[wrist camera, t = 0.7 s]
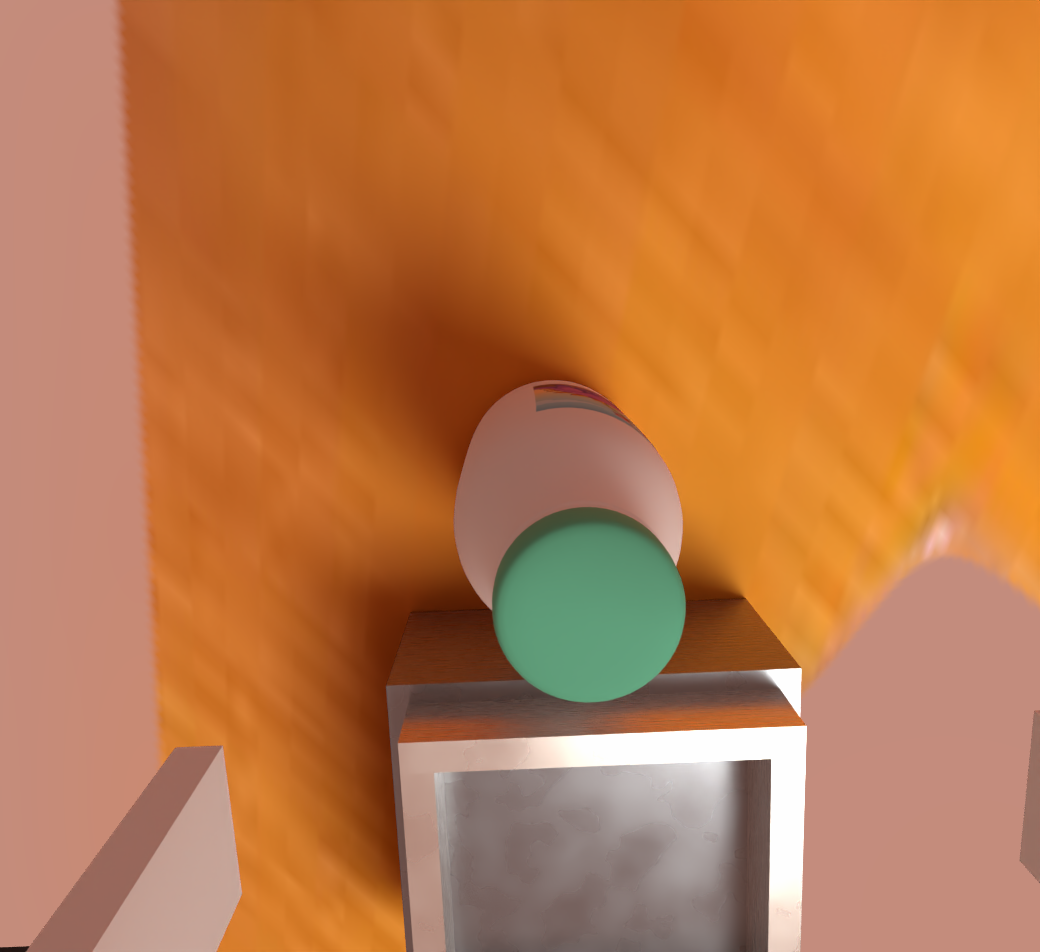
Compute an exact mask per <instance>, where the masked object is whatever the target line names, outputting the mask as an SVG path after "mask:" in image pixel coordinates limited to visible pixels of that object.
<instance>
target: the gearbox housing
mask: <svg viewBox="0 0 1040 952" xmlns="http://www.w3.org/2000/svg"><path fill="white" fill-rule="evenodd" d="M386 693H387V706H388V719H389V732H390V745H391V758H392V771H393V784H394V797H395V809H396V822H397V835H398V848H399V861H400V874H401V887H402V900H403V913H404V926H405V939H406V952H800V942H801V940H800V939H801V906H802V867H803V831H804V829H803V828H804V793H805V791H804V790H805V756H806V725H805V724H804V722H803V721H802V719H801V718H800V699H801V667H800V666H799V665H798V664H797V662H796V661H795V660H794V659H793V657H792V656H791V655H790V654H789V652H788V651H787V650H786V649H785V647H784V646H783V645H782V644H781V642H780V641H779V640H778V639H777V637H776V636H775V635H774V633H773V632H772V631H771V630H770V628H769V627H768V626H767V625H766V623H765V622H764V621H763V620H762V618H761V617H760V616H759V615H758V613H757V612H756V611H755V610H754V608H753V607H752V606H751V605H750V603H749V602H748V601H747V600H746V598H744V599H720V600H696V601H686V614H685V622H684V627H683V631H682V635H681V638H680V641H679V644H678V646H677V648H676V650H675V652H674V654H673V656H672V657H671V659H670V660H669V662H668V663H667V664H666V666H665V667H664V668H663V669H662V670H661V672H660V673H659V674H658V675H657V676H655V677H654V678H653V679H652V680H651V681H650V682H648V683H647V684H646V685H644V686H643V687H641V688H639V689H638V690H636V691H634V692H632V693H630V694H628V695H625V696H623V697H620V698H616V699H613V700H608V701H603V702H590V703H584V702H574V701H568V700H564V699H560V698H557V697H554V696H551V695H549V694H547V693H545V692H543V691H541V690H539V689H538V688H536V687H534V686H533V685H532V684H530V683H529V682H528V681H526V680H525V679H524V678H523V677H522V676H521V675H520V674H519V673H518V672H517V671H516V670H515V669H514V667H513V666H512V665H511V663H510V662H509V661H508V659H507V658H506V656H505V655H504V653H503V651H502V649H501V647H500V645H499V642H498V640H497V637H496V633H495V629H494V624H493V616H492V610H491V609H482V610H458V611H434V612H411V613H410V616H409V619H408V622H407V624H406V627H405V630H404V633H403V636H402V639H401V642H400V645H399V648H398V651H397V654H396V657H395V660H394V663H393V666H392V669H391V672H390V675H389V678H388V681H387V684H386Z"/></svg>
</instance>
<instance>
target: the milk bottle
mask: <svg viewBox="0 0 1040 952" xmlns="http://www.w3.org/2000/svg"><path fill="white" fill-rule="evenodd" d="M682 532H683V520H682V510H681V505H680V500H679V496H678V492H677V489H676V486H675V483H674V480H673V478H672V475H671V473H670V471H669V469H668V468H667V466H666V464H665V462H664V461H663V459H662V458H661V456H660V455H659V454H658V452H657V451H656V449H655V448H654V446H653V445H652V444H651V442H650V441H649V440H648V439H647V438H646V437H645V435H644V434H643V433H642V432H641V431H640V430H639V429H638V428H637V427H636V426H635V425H634V424H633V423H632V422H631V421H630V420H629V419H628V418H627V417H626V416H625V415H624V414H623V413H622V412H621V411H620V410H619V409H618V408H617V407H616V406H615V405H614V404H613V403H612V402H610V401H609V400H608V399H607V398H605V397H604V396H602V395H601V394H599V393H598V392H596V391H594V390H592V389H590V388H588V387H586V386H583V385H581V384H577V383H574V382H569V381H561V380H545V381H538V382H533V383H529V384H526V385H523V386H521V387H519V388H516V389H514V390H513V391H511V392H509V393H507V394H506V395H504V396H503V397H502V398H500V399H499V400H498V401H497V402H496V403H495V404H494V405H493V406H492V407H491V408H490V409H489V410H488V411H487V412H486V414H485V415H484V416H483V418H482V420H481V421H480V423H479V424H478V426H477V428H476V430H475V432H474V434H473V437H472V440H471V442H470V445H469V448H468V452H467V455H466V458H465V461H464V465H463V469H462V472H461V476H460V480H459V484H458V488H457V494H456V501H455V509H454V534H455V541H456V546H457V550H458V554H459V558H460V561H461V564H462V567H463V570H464V572H465V574H466V576H467V578H468V580H469V582H470V583H471V585H472V587H473V588H474V590H475V591H476V593H477V594H478V595H479V597H480V598H481V600H482V601H483V602H484V603H485V604H486V605H487V606H488V607H489V609H491V610H492V616H493V624H494V629H495V633H496V637H497V640H498V642H499V645H500V647H501V649H502V651H503V653H504V655H505V656H506V658H507V659H508V661H509V662H510V663H511V665H512V666H513V667H514V669H515V670H516V671H517V672H518V673H519V674H520V675H521V676H522V677H523V678H524V679H525V680H526V681H528V682H529V683H530V684H532V685H533V686H534V687H536V688H538V689H539V690H541V691H543V692H545V693H547V694H549V695H551V696H554V697H557V698H560V699H564V700H568V701H574V702H584V703H590V702H603V701H608V700H613V699H616V698H620V697H623V696H625V695H628V694H630V693H632V692H634V691H636V690H638V689H639V688H641V687H643V686H644V685H646V684H647V683H648V682H650V681H651V680H652V679H653V678H654V677H655V676H657V675H658V674H659V673H660V672H661V670H662V669H663V668H664V667H665V666H666V664H667V663H668V662H669V660H670V659H671V657H672V656H673V654H674V652H675V650H676V648H677V646H678V644H679V641H680V638H681V635H682V631H683V627H684V622H685V614H686V600H685V592H684V587H683V583H682V580H681V577H680V575H679V572H678V570H677V567H676V565H677V562H678V559H679V554H680V550H681V542H682Z"/></svg>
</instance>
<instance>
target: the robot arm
mask: <svg viewBox="0 0 1040 952" xmlns="http://www.w3.org/2000/svg"><path fill="white" fill-rule="evenodd" d="M1020 861H1021V863H1022V864H1023V865H1024V866H1025V867H1026V868H1027V869H1028V870H1029V872H1030V873H1031V874H1032V875H1033V876H1034V877H1035V878H1036V879H1037V881H1038V882H1039V883H1040V711H1034V718H1033V728H1032V739H1031V749H1030V759H1029V769H1028V780H1027V790H1026V801H1025V812H1024V821H1023V831H1022V842H1021V852H1020ZM241 895H242V890H241V882H240V874H239V867H238V859H237V851H236V844H235V836H234V828H233V821H232V813H231V805H230V797H229V790H228V782H227V774H226V767H225V759H224V751H223V746H202V747H178V748H175V749H174V750H173V752H172V753H171V754H170V756H169V757H168V758H167V760H166V761H165V763H164V764H163V765H162V767H161V768H160V769H159V771H158V772H157V774H156V775H155V776H154V778H153V779H152V780H151V782H150V783H149V784H148V786H147V787H146V789H145V790H144V791H143V793H142V794H141V795H140V797H139V798H138V799H137V801H136V802H135V804H134V805H133V806H132V808H131V809H130V810H129V812H128V813H127V814H126V816H125V817H124V819H123V820H122V821H121V823H120V824H119V825H118V827H117V828H116V830H115V831H114V832H113V834H112V835H111V836H110V838H109V839H108V841H107V842H106V843H105V844H104V846H103V847H102V849H101V850H100V852H99V853H98V854H97V855H96V857H95V858H94V859H93V861H92V862H91V864H90V865H89V866H88V868H87V869H86V871H85V872H84V873H83V875H82V876H81V877H80V879H79V880H78V881H77V883H76V884H75V885H74V887H73V888H72V890H71V891H70V892H69V894H68V895H67V896H66V898H65V899H64V901H63V902H62V903H61V905H60V906H59V907H58V909H57V910H56V911H55V913H54V914H53V916H52V917H51V918H50V920H49V921H48V922H47V924H46V925H45V926H44V928H43V929H42V930H41V932H40V933H39V935H38V936H37V937H36V939H35V940H34V941H33V943H32V944H31V945H30V946H26V947H2V948H0V952H216V951H217V949H218V947H219V944H220V942H221V940H222V938H223V935H224V933H225V931H226V929H227V926H228V924H229V922H230V920H231V917H232V915H233V913H234V911H235V908H236V906H237V904H238V902H239V899H240V897H241Z"/></svg>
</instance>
